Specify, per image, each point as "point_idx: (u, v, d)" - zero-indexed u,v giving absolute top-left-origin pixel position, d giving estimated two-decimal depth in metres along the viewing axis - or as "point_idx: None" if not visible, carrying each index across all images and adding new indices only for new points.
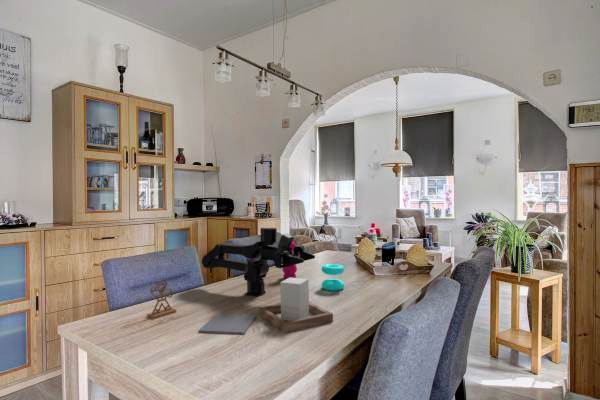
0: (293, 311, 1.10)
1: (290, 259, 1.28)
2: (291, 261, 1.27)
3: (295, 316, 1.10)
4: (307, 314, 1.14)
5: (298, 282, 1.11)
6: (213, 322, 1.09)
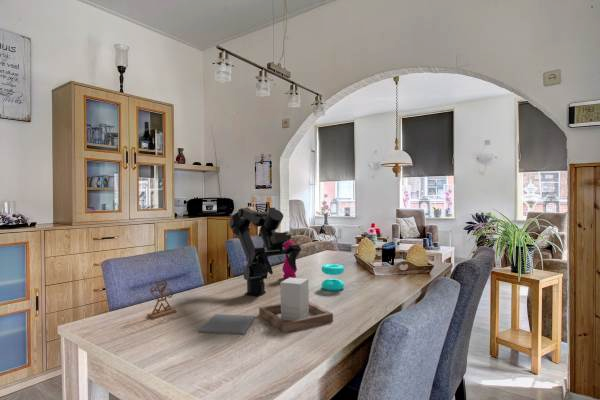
0: (293, 311, 1.10)
1: (264, 262, 1.21)
2: (264, 264, 1.21)
3: (295, 316, 1.10)
4: (307, 314, 1.14)
5: (298, 282, 1.11)
6: (213, 322, 1.09)
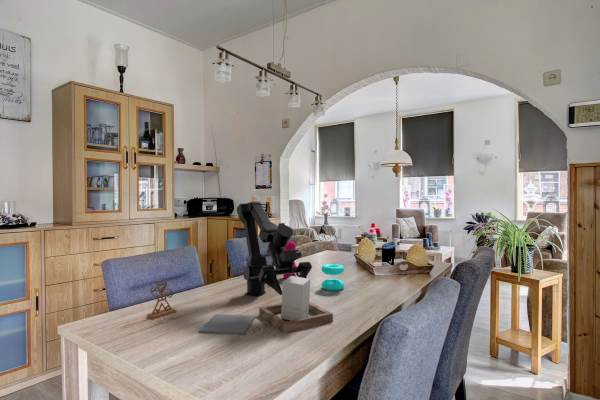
0: (293, 311, 1.10)
1: (273, 281, 1.14)
2: (273, 284, 1.14)
3: (296, 316, 1.10)
4: (307, 313, 1.14)
5: (301, 282, 1.10)
6: (213, 322, 1.09)
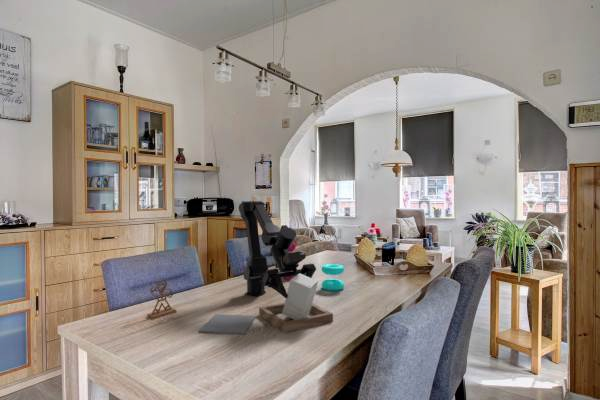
0: (296, 310, 1.09)
1: (278, 285, 1.12)
2: (278, 287, 1.12)
3: (297, 315, 1.09)
4: (308, 313, 1.14)
5: (308, 284, 1.08)
6: (213, 322, 1.09)
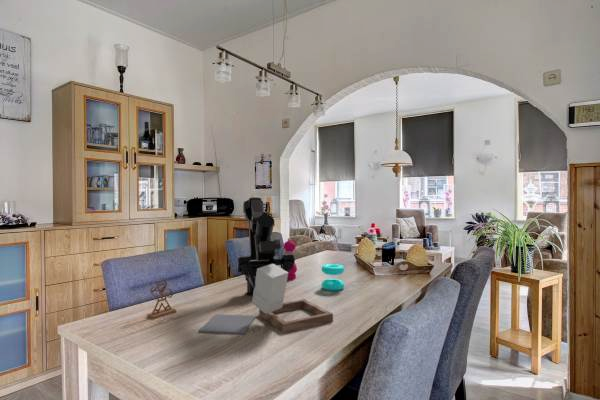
0: (262, 301, 1.06)
1: None
2: (248, 275, 1.10)
3: (263, 306, 1.06)
4: (279, 306, 1.09)
5: (273, 275, 1.04)
6: (213, 322, 1.09)
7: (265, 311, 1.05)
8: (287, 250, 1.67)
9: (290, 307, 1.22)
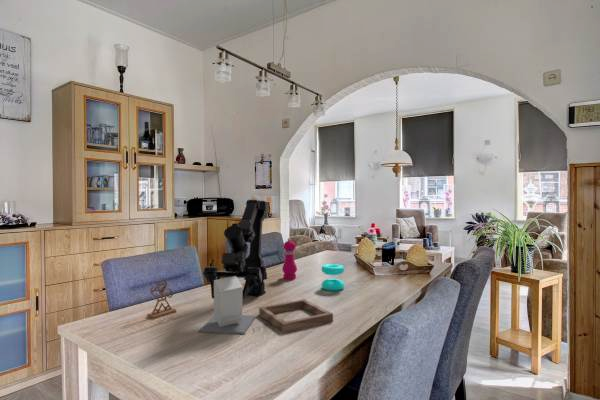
0: (217, 313, 1.05)
1: None
2: None
3: (218, 319, 1.05)
4: (237, 320, 1.07)
5: (223, 288, 1.02)
6: (213, 322, 1.09)
7: (219, 324, 1.04)
8: (287, 250, 1.67)
9: (290, 307, 1.22)
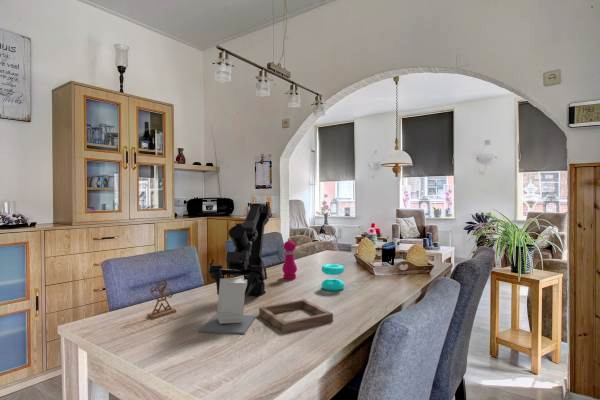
0: (219, 310, 1.08)
1: None
2: None
3: (219, 315, 1.07)
4: (238, 319, 1.08)
5: (227, 282, 1.08)
6: (213, 322, 1.09)
7: (219, 320, 1.06)
8: (287, 250, 1.67)
9: (290, 307, 1.22)
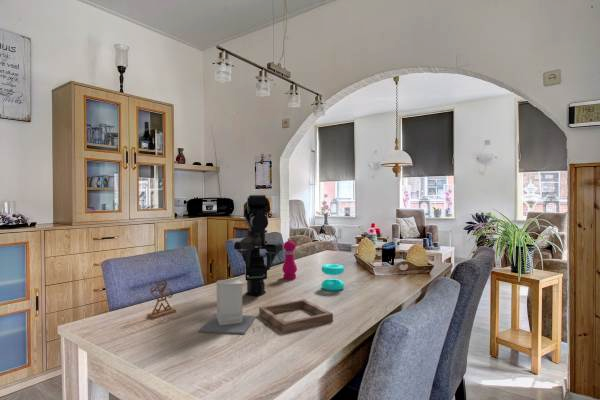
0: (218, 312, 1.08)
1: None
2: None
3: (218, 317, 1.07)
4: (237, 320, 1.08)
5: (223, 283, 1.07)
6: (213, 322, 1.09)
7: (219, 322, 1.06)
8: (287, 250, 1.67)
9: (290, 307, 1.22)
